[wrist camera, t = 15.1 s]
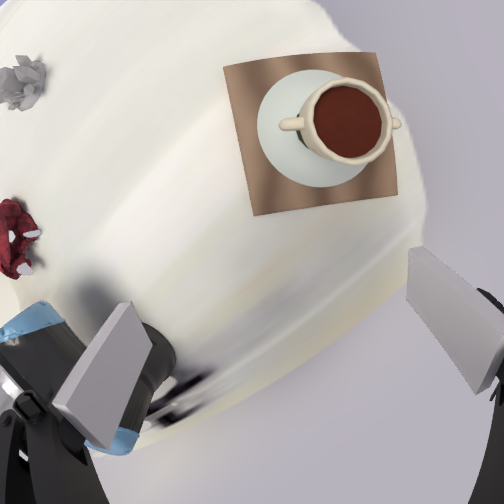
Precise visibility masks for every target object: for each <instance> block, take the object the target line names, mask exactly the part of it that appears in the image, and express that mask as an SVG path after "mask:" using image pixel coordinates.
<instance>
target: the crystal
mask: <svg viewBox="0 0 504 504" xmlns="http://www.w3.org/2000/svg"><path fill="white" fill-rule="evenodd" d="M15 57H16V59H17V61H18V63H19V65H20V66H13V67H14V69H10V68H7V67H4V68H1V69H0V104H1V103H3V102H8V103H13V104H11V105H10V106H9V108H8V109H10V110H14V109H16V108H18V109H19V110H20V111H25V110H27V109H29V108H32V107H33V105H34V104H35V103H36V102H37V101H38V99H39V97H40V95H41V93H42V91H43V85H44V81H45V77H46V72H45V68H44V63H42V62H40V61H38V60H35V61H32V62H31V60H30V59H29V58H28V57H27V56H21V55H16V56H15Z"/></svg>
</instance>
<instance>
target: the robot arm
mask: <svg viewBox="0 0 504 504" xmlns="http://www.w3.org/2000/svg"><path fill="white" fill-rule="evenodd" d="M406 300H407V301H408V302H409V304H410V305H411V306H412V307H413V309H414V310H415V311H416V313H417V314H418V315H419V316H420V318H421V319H422V320H423V321H424V323H425V324H426V325H427V327H428V328H429V329H430V331H431V332H432V333H433V335H434V336H435V337H436V338H437V340H438V341H439V343H440V344H441V345H442V347H443V348H444V350H445V351H446V352H447V354H448V355H449V357H450V358H451V359H452V361H453V362H454V364H455V365H456V367H457V368H458V370H459V371H460V373H461V374H462V376H463V377H464V378H465V380H466V382H467V383H468V385H469V386H470V388H471V389H472V391H473V393H474V394H475V395H477V394H479V393H480V392H482V391H484V390H485V389H487V388H489V387H490V386H491V384H492V382H493V380H494V378H495V376H497V377H498V379H499V380H500V381H499V383H498V385H497V387H496V388H495V390H494V392H493V394H492V395H491V398H490V401H492V400H493V398H494V397H495V395H496V400H495V407H494V413H493V419H492V424H491V430H490V434H489V439H488V443H487V448H486V451H485V455H484V459H483V462H482V465H481V469H480V472H479V476H478V478H477V482H476V484H475V487H474V489H473V492H472V495H471V497H470V500H469V502H468V504H504V307H503V305H502V304H501V303H500V302H499V301H497V299H496V298H494V297H493V296H492V295H491V294H490V293H489V292H486V291H484V290H482V289H480V288H477V289H475V288H474V287H473V286H472V285H470V283H468V282H467V281H466V280H465V279H464V278H462V277H461V276H460V275H459V274H457V273H456V272H455V271H454V270H452V269H451V268H450V267H449V266H448V265H446V264H445V263H444V262H443V261H441V260H440V259H439V258H437V257H436V256H435V255H433V254H432V253H431V252H430V251H428V250H427V249H426V248H424V247H423V246H419V247H415V248H411V249H409V260H408V282H407V296H406ZM174 365H175V354H174V351H173V349H172V347H171V345H170V344H169V342H168V341H167V340H166V339H165V338H164V337H163V336H162V335H161V334H160V333H159V332H158V331H156V330H155V329H153V328H152V327H150V326H148V325H146V324H144V323H142V322H141V321H140V319H139V317H138V314H137V312H136V310H135V308H134V306H133V304H132V301H130V302H123V303H119V304H118V305H117V307H116V308H115V309H114V311H113V312H112V313H111V315H110V316H109V317H108V319H107V320H106V322H105V323H104V324H103V326H102V327H101V328H100V330H99V331H98V333H97V334H96V336H95V337H94V338H93V340H92V341H91V343H90V344H89V346H88V347H86V346H85V345H84V344H83V342H82V341H81V340H80V339H79V338H78V337H77V336H76V334H75V333H74V332H73V331H72V330H71V328H70V327H69V326H68V325H67V323H66V321H65V319H63V318H62V317H61V316H60V315H59V314H58V313H57V312H56V310H55V309H54V308H53V307H52V306H51V305H50V304H49V303H48V302H46V301H39V302H37V303H35V304H33V305H31V306H30V307H28V308H27V309H25V310H24V311H22V312H21V313H19V314H18V315H17V316H15V317H14V318H13V319H11V320H10V321H9V322H7V323H6V324H5V325H4V326H3V327H2V328H0V504H109V501H108V499H107V497H106V495H105V493H104V490H103V488H102V485H101V483H100V481H99V478H98V475H97V473H96V470H95V467H94V465H93V462H92V459H91V456H90V453H89V450H88V449H87V447H86V446H88V447H90V448H92V449H95V450H97V451H100V452H103V453H107V454H111V455H119V456H121V455H126V454H129V453H130V452H131V451H132V449H133V447H134V445H135V443H136V441H137V439H138V438H139V433H140V430H141V427H142V424H143V421H144V419H145V416H146V413H147V410H148V408H149V405H150V402H151V399H152V397H153V394H154V392H155V391H156V390H157V389H158V387H159V386H160V385H161V384H162V382H163V381H165V380H166V379H167V378H168V377H169V376H170V375H171V373H172V370H173V368H174ZM85 445H86V446H85ZM19 449H20V450H21V451H22V452H23V453H24V454H25V455H26V456H28V461H25V460H24V459H23V458H22V457H20V456H19Z"/></svg>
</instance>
